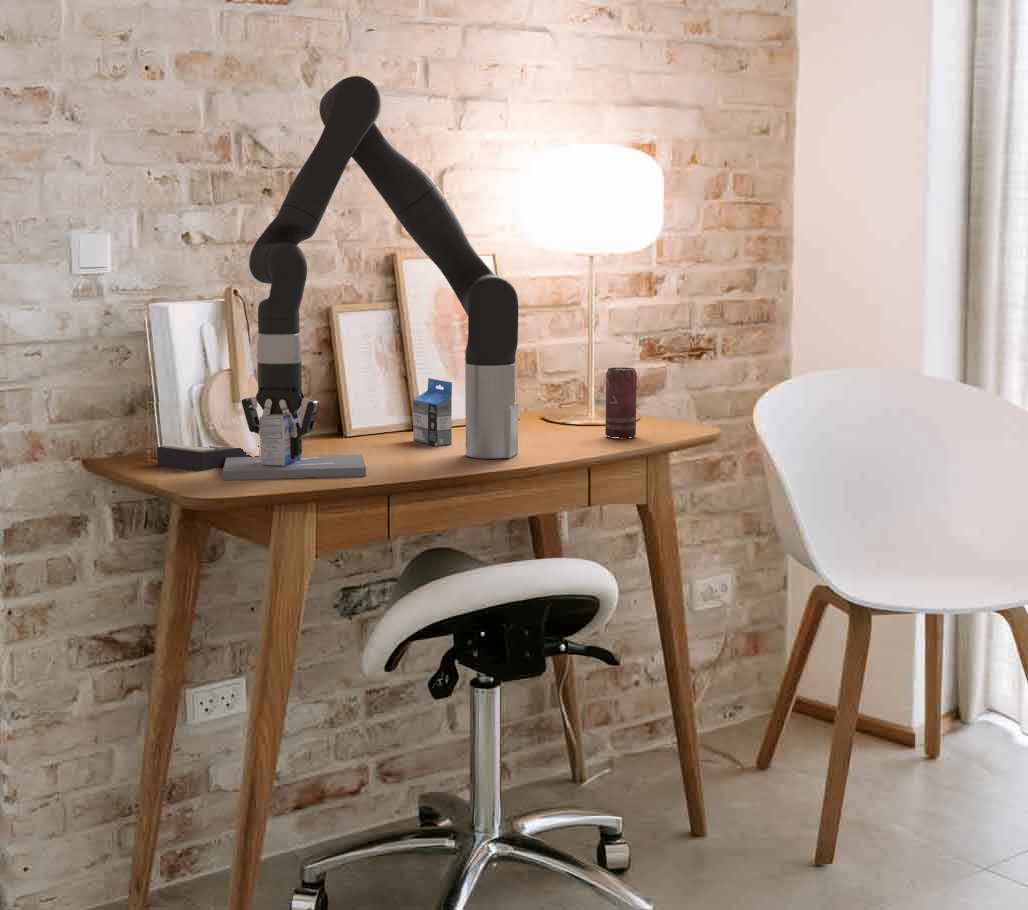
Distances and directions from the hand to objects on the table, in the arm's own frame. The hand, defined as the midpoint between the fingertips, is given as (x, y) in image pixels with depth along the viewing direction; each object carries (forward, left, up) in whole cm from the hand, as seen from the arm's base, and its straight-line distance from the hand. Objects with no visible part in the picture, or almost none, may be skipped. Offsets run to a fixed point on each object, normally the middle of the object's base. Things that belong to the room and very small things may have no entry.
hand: (281, 457), depth 239 cm
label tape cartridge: (-16, -37, -3) cm, 40 cm away
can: (-51, -53, -3) cm, 74 cm away
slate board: (-2, -1, -3) cm, 3 cm away
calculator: (+16, -6, -3) cm, 18 cm away
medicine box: (0, 0, -1) cm, 1 cm away
